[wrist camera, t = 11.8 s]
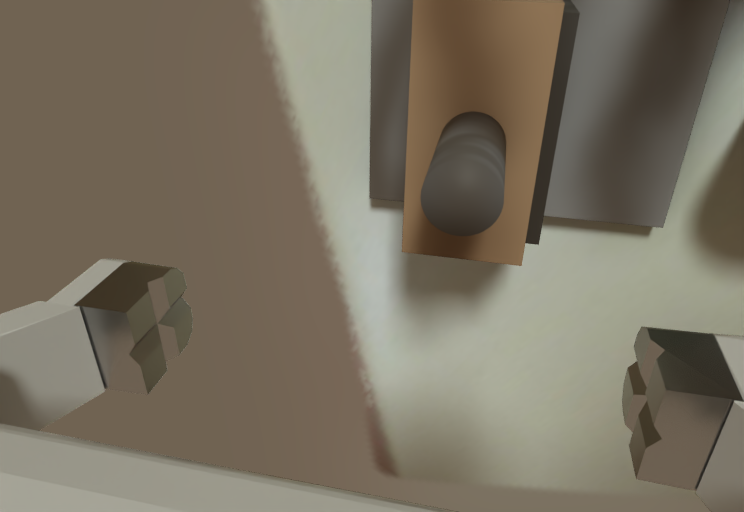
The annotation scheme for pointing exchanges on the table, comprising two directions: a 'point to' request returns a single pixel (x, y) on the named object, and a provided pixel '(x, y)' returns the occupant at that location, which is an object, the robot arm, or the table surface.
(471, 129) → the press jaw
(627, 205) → the frame
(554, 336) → the table surface
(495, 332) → the table surface
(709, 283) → the table surface
